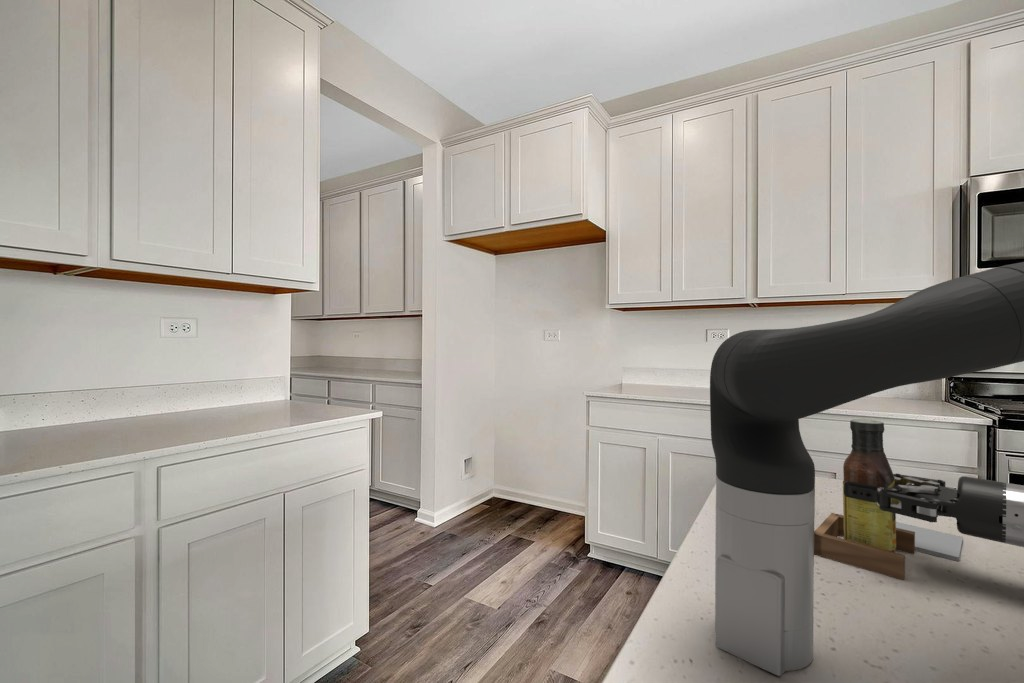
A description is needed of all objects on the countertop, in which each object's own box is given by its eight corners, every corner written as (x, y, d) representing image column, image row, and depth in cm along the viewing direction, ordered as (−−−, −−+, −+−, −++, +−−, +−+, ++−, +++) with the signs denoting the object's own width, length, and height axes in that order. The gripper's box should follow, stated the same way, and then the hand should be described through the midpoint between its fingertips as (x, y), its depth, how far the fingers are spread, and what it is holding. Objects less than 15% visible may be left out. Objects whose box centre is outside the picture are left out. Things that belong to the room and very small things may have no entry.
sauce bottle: (906, 566, 66) (907, 426, 66) (856, 562, 68) (856, 424, 67) (879, 545, 73) (880, 417, 72) (834, 542, 74) (835, 416, 74)
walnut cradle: (903, 580, 63) (903, 557, 63) (811, 553, 70) (812, 533, 70) (914, 551, 71) (915, 532, 71) (831, 530, 78) (831, 512, 78)
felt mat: (958, 561, 68) (958, 557, 68) (880, 541, 74) (880, 537, 74) (962, 540, 75) (962, 536, 75) (890, 524, 81) (890, 520, 81)
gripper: (1009, 472, 65) (859, 450, 77) (1010, 497, 55) (838, 468, 67) (1008, 526, 65) (859, 496, 77) (1009, 561, 55) (837, 520, 67)
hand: (850, 483), depth 72 cm, fingers closed on sauce bottle, 6 cm apart
